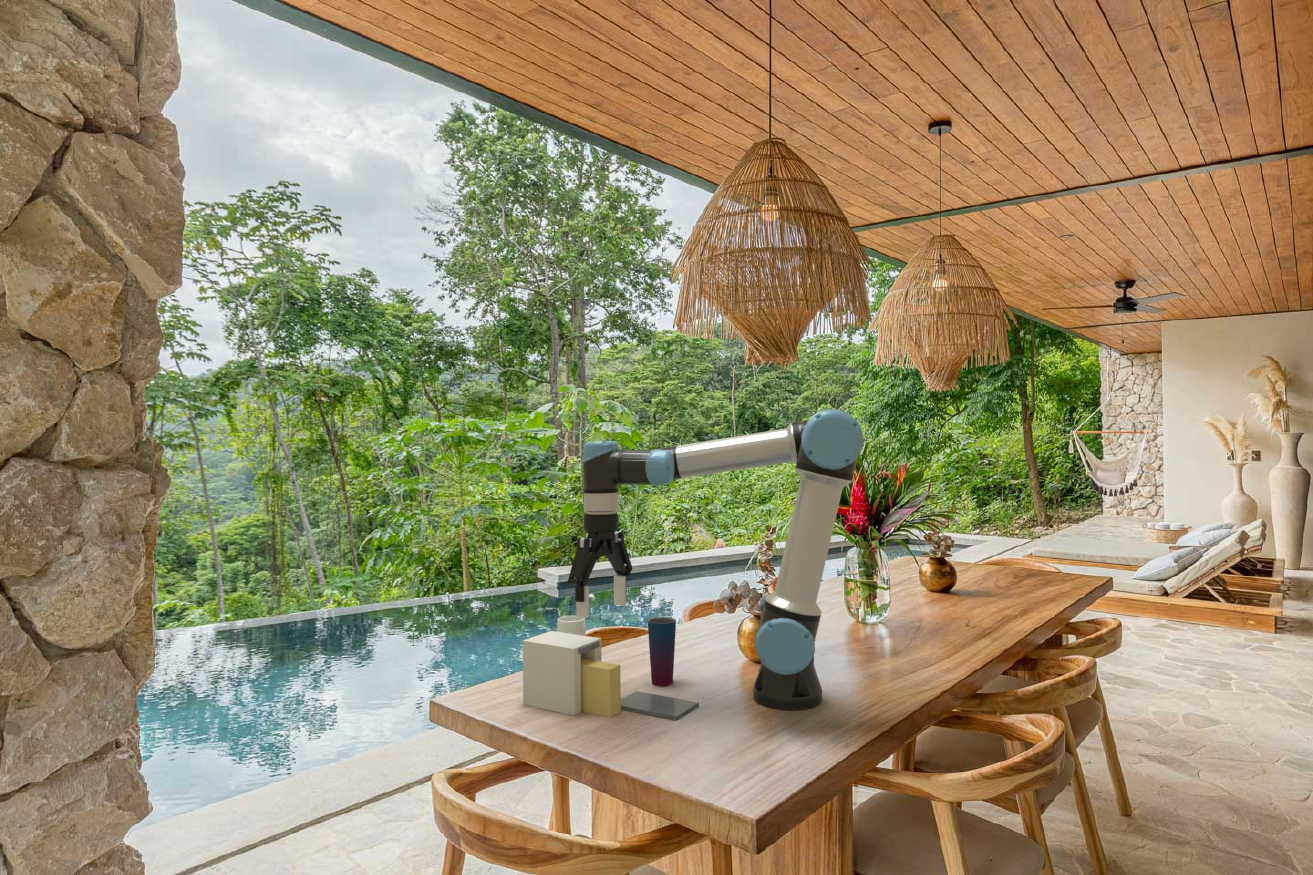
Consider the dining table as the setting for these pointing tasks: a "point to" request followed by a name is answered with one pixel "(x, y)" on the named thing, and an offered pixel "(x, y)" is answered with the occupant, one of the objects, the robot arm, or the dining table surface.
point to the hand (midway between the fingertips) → (601, 611)
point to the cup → (662, 649)
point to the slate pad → (657, 705)
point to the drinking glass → (571, 625)
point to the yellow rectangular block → (600, 687)
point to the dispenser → (556, 670)
